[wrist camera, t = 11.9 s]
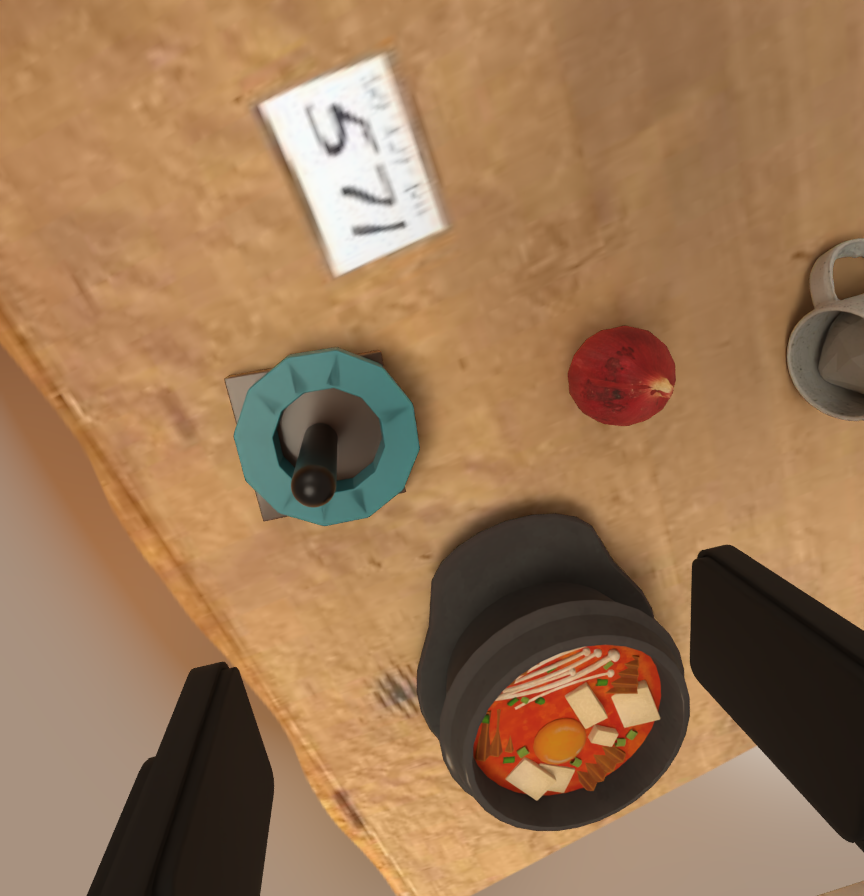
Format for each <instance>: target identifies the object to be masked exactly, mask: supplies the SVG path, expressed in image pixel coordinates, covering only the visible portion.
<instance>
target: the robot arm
mask: <svg viewBox="0 0 864 896" xmlns="http://www.w3.org/2000/svg"><path fill="white" fill-rule="evenodd" d="M690 666H691V669H692V672H693V674H694V676H695V677H696V679H697V680H698V681H699V683H700V684H701V685H702V686H703V687H704V688H705V689H706V690H707V691H708V692H709V694H710V695H711V696H712V697H713V698H714V699H715V700H716V701H717V702H718V703H719V704H720V706H721V707H722V708H723V709H724V710H725V711H726V712H727V713H728V714H729V715H730V716H731V718H732V719H733V720H734V721H735V722H736V723H737V724H738V725H739V726H740V727H741V728H742V730H743V731H744V732H745V733H746V734H747V735H748V736H749V737H750V738H751V739H752V741H753V742H754V743H755V744H756V745H757V746H758V747H759V748H760V749H761V750H762V751H763V752H764V754H765V755H766V756H767V757H768V758H769V759H770V760H771V761H772V762H773V763H774V764H775V766H776V767H777V768H778V769H779V770H780V771H781V772H782V773H783V774H784V775H785V777H786V778H787V779H788V780H789V781H790V782H791V783H792V784H793V785H794V786H795V788H796V789H797V790H798V791H799V792H800V793H801V794H802V795H803V796H804V797H805V798H806V799H807V801H808V802H809V803H810V804H811V805H812V806H813V807H814V808H815V809H816V810H817V812H818V813H819V814H820V815H821V816H822V817H823V818H824V819H825V820H826V821H827V822H828V823H829V825H830V826H831V827H832V828H833V829H834V830H835V831H836V832H837V833H838V834H839V835H840V836H841V837H842V838H843V839H845V840H846V841H848V842H852V843H854V842H855V843H856V845H857V846H858V847H859V848H860V849H861V850H862V851H863V852H864V631H863V630H862V629H860V628H858V627H857V626H855V625H854V624H852V623H851V622H849V621H848V620H846V619H845V618H843V617H842V616H840V615H838V614H837V613H835V612H834V611H832V610H831V609H829V608H828V607H826V606H825V605H823V604H822V603H820V602H818V601H817V600H815V599H814V598H812V597H811V596H809V595H808V594H806V593H805V592H803V591H802V590H800V589H798V588H797V587H795V586H794V585H792V584H791V583H789V582H788V581H786V580H785V579H783V578H782V577H780V576H778V575H777V574H775V573H774V572H772V571H771V570H769V569H768V568H766V567H765V566H763V565H762V564H760V563H758V562H757V561H755V560H754V559H752V558H751V557H749V556H748V555H746V554H745V553H743V552H742V551H740V550H738V549H737V548H735V547H734V546H731V545H723V546H718V547H714V548H710V549H705V550H702V551H700V552H699V554H698V557H697V559H695V560H694V561H693V563H692V588H691V633H690ZM273 795H274V778H273V772H272V768H271V765H270V762H269V760H268V756H267V753H266V750H265V747H264V744H263V741H262V738H261V735H260V732H259V729H258V726H257V723H256V720H255V717H254V714H253V711H252V708H251V705H250V702H249V699H248V696H247V693H246V690H245V687H244V684H243V681H242V678H241V675H240V672H239V670H238V668H237V667H233V668H229V667H228V665H227V664H226V663H225V662H219V663H215V664H211V665H206V666H202V667H197V668H194V669H192V670H191V671H190V673H189V675H188V677H187V679H186V682H185V684H184V687H183V689H182V692H181V694H180V697H179V699H178V702H177V704H176V707H175V709H174V712H173V714H172V717H171V719H170V722H169V724H168V727H167V729H166V732H165V734H164V737H163V739H162V742H161V744H160V747H159V749H158V752H157V754H156V756H155V757H152V758H149V759H148V760H147V761H146V762H145V763H144V764H143V766H142V767H141V769H140V771H139V773H138V776H137V778H136V780H135V783H134V785H133V787H132V790H131V792H130V794H129V797H128V799H127V801H126V804H125V806H124V809H123V811H122V813H121V816H120V818H119V820H118V823H117V825H116V828H115V830H114V832H113V835H112V837H111V839H110V842H109V844H108V847H107V849H106V851H105V854H104V856H103V858H102V861H101V863H100V865H99V868H98V870H97V873H96V875H95V877H94V880H93V882H92V884H91V887H90V889H89V892H88V894H87V896H260V891H261V883H262V876H263V869H264V861H265V853H266V847H267V839H268V832H269V824H270V817H271V809H272V802H273ZM818 896H864V881H861V882H858V883H855V884H852V885H849V886H846V887H843V888H839V889H836V890H834V891H830V892H827V893H824V894H821V895H818Z"/></svg>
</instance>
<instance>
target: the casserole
mask: <svg viewBox="0 0 864 896" xmlns="http://www.w3.org/2000/svg"><path fill="white" fill-rule="evenodd" d="M417 695H418V700H419V704H420V709H421V712H422V714H423V716H424V718H425V720H426V722H427V724H428V726H429V728H430V730H431V731H432V732H433V733H434V735H435V736H436V737H437V738H438V739H439V741H440V746H441V751H442V756H443V760H444V762H445V764H446V766H447V768H448V770H449V772H450V774H451V776H452V777H453V778H454V780H455V781H456V782H457V783H458V784H459V785H460V786H461V787H462V789H463V790H464V791H465V792H467V793H468V794H470V795H471V796H473V797H474V798H475V799H476V801H477V802H478V803H479V804H480V805H481V806H482V807H483V808H484V810H485V811H487V812H488V813H490V814H491V815H492V816H494V817H495V818H497V819H498V820H500V821H502V822H505V823H507V824H510V825H512V826H515V827H517V828H523V829H529V830H535V831H560V830H566V829H572V828H578V827H581V826H584V825H588V824H591V823H594V822H597V821H600V820H602V819H604V818H606V817H608V816H610V815H613V814H615V813H617V812H619V811H620V810H622V809H623V808H625V807H626V806H628V805H630V804H631V803H633V802H634V801H636V800H637V799H638V798H640V797H641V796H642V795H643V794H644V793H645V792H646V791H648V790H649V789H650V788H651V787H652V786H653V785H654V784H655V783H656V782H657V781H658V780H659V779H660V777H661V776H662V775H663V774H664V773H665V772H666V771H667V769H668V768H669V766H670V765H671V763H672V761H673V760H674V758H675V757H676V755H677V753H678V752H679V749H680V747H681V745H682V742H683V740H684V737H685V735H686V731H687V726H688V721H689V717H690V698H689V694H688V690H687V686H686V682H685V679H684V668H683V664H682V660H681V656H680V652H679V650H678V648H677V646H676V645H675V643H674V641H673V639H672V637H671V636H670V634H669V633H668V632H667V631H666V630H665V629H664V628H663V627H662V626H661V625H660V624H659V623H658V622H657V621H656V620H655V618H654V615H653V611H652V608H651V606H650V604H649V602H648V600H647V599H646V597H645V595H644V593H643V591H642V590H641V589H640V588H639V587H638V586H637V585H636V584H635V583H634V582H633V581H632V580H631V579H630V578H629V577H628V576H627V575H626V574H625V573H624V572H623V571H622V569H621V568H620V567H619V566H618V565H617V564H616V563H615V562H614V561H613V560H612V558H611V556H610V555H609V553H608V551H607V550H606V548H605V546H604V545H603V543H602V542H601V540H600V538H599V537H598V535H597V533H596V532H595V530H594V528H593V527H592V526H591V525H589V524H588V523H586V522H584V521H583V520H581V519H579V518H577V517H575V516H568V515H562V514H538V515H529V516H524V517H520V518H516V519H512V520H507V521H504V522H502V523H499V524H497V525H495V526H493V527H490V528H488V529H486V530H483V531H481V532H479V533H478V534H476V535H474V536H473V537H471V538H470V539H468V540H467V541H465V542H464V543H462V544H461V545H459V546H458V547H457V548H456V549H454V550H453V551H452V552H451V553H450V554H449V555H448V556H447V557H446V558H445V559H444V560H443V561H442V562H441V564H440V566H439V568H438V569H437V571H436V573H435V575H434V577H433V579H432V583H431V600H430V617H429V628H428V631H427V635H426V639H425V642H424V646H423V650H422V654H421V658H420V661H419V665H418V669H417Z"/></svg>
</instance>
